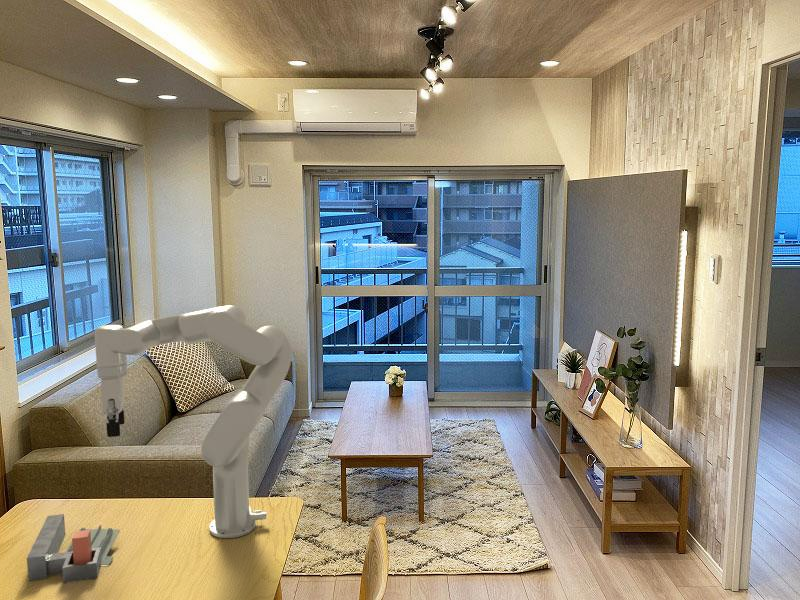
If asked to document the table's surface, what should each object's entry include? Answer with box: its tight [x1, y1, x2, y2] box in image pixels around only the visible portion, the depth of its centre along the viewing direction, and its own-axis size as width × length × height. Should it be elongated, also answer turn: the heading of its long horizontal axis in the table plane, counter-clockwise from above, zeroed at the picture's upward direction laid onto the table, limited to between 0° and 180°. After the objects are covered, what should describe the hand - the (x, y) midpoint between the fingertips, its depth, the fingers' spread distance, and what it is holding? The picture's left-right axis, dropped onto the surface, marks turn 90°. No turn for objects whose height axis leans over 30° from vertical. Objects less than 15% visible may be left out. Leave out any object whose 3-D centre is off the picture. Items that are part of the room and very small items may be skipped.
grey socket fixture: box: [26, 513, 102, 584], centre depth 168 cm, size 16×25×6 cm, turn 17°
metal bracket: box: [65, 524, 121, 566], centre depth 169 cm, size 14×6×15 cm
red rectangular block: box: [71, 530, 93, 564], centre depth 160 cm, size 4×4×10 cm
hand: (116, 430), depth 180 cm, fingers open, 9 cm apart
